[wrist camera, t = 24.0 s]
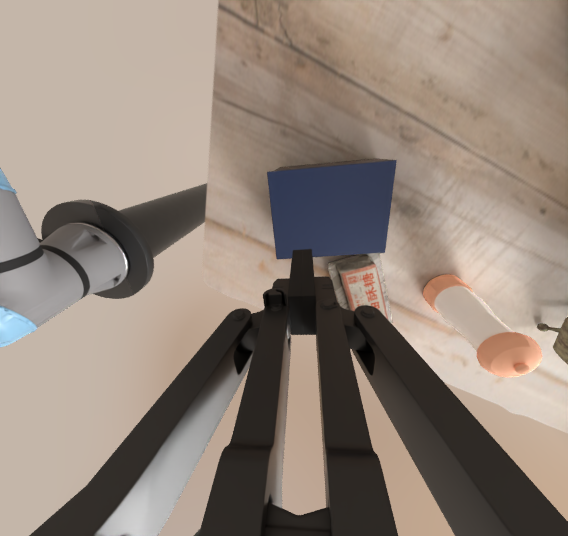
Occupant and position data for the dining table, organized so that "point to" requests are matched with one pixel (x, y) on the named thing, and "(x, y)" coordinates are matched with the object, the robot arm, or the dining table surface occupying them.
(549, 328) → the tabletop clock
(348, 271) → the packaged product
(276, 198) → the cover
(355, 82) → the dining table surface
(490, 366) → the pepper shaker
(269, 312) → the robot arm
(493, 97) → the dining table surface
